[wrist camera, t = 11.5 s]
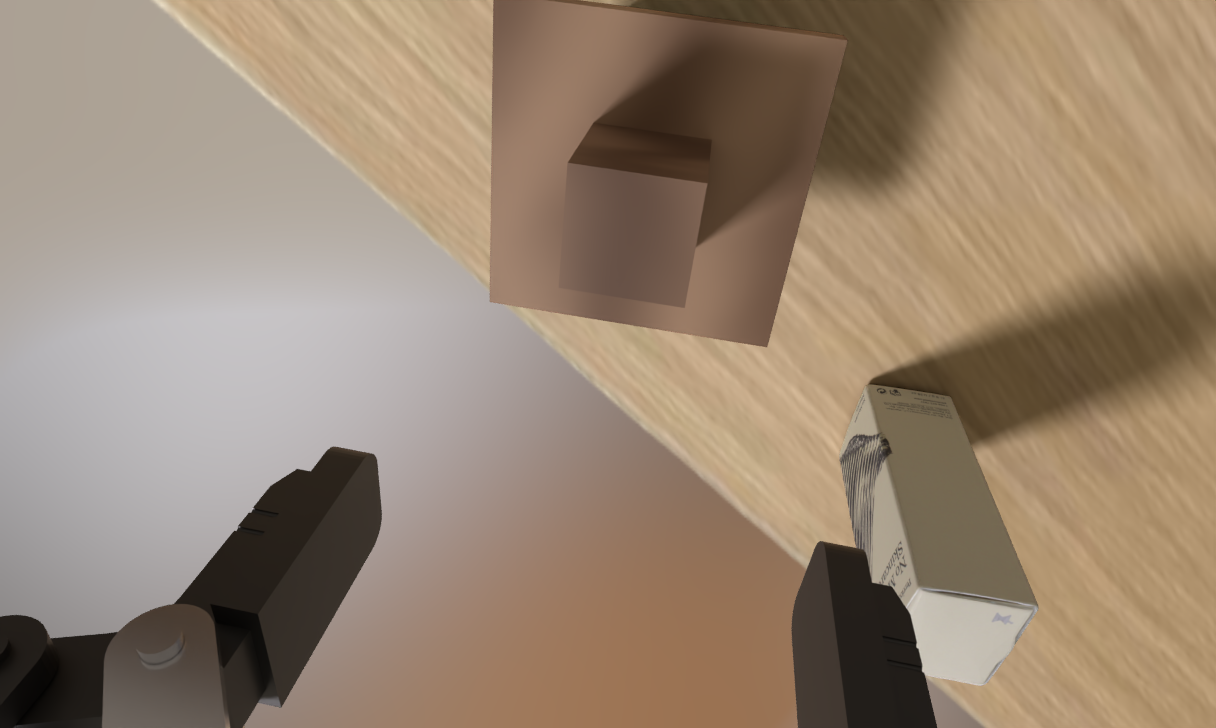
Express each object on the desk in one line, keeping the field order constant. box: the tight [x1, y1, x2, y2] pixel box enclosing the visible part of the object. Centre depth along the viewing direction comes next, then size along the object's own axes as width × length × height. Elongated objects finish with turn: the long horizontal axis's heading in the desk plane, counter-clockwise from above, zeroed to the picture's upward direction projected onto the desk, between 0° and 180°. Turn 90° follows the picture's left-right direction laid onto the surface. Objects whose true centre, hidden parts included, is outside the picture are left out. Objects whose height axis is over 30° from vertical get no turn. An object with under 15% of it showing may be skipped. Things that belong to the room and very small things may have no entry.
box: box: [839, 384, 1038, 686], centre depth 32 cm, size 5×4×13 cm
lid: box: [490, 0, 848, 347], centre depth 24 cm, size 11×11×6 cm
